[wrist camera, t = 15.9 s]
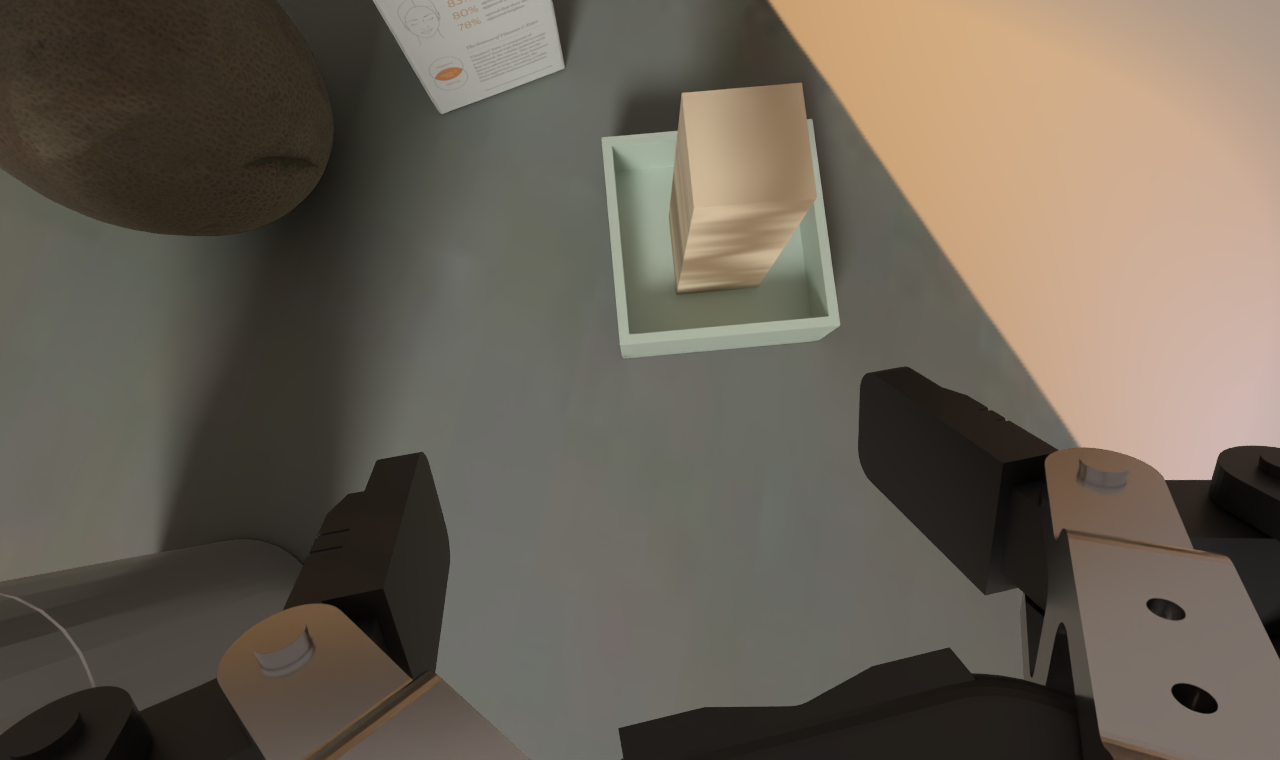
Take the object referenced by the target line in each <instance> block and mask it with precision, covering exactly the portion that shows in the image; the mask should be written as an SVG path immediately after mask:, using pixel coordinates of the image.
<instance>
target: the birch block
mask: <svg viewBox="0 0 1280 760" xmlns="http://www.w3.org/2000/svg"><path fill="white" fill-rule="evenodd" d="M816 198H817V193H816V185H815V178H814V170H813V163H812V155H811V148H810V140H809V133H808V125H807V118H806V110H805V103H804V95H803V88H802V83H791V84H780V85H768V86H757V87H745V88H734V89H722V90H710V91H699V92H687V93H682V96H681V106H680V115H679V124H678V134H677V143H676V153H675V162H674V171H673V181H672V190H671V200H670V209H669V225H670V235H671V245H672V255H673V265H674V275H675V285H676V295H680V294H691V293H703V292H714V291H725V290H736V289H748V288H758V287H759V285H760V284H761V282H762V281H763V279H764V278H765V276H766V274H767V273H768V271H769V270H770V268H771V267H772V265H773V264H774V262H775V261H776V259H777V258H778V256H779V255H780V253H781V252H782V250H783V248H784V247H785V245H786V244H787V242H788V241H789V239H790V238H791V236H792V235H793V233H794V232H795V230H796V229H797V227H798V225H799V224H800V222H801V221H802V219H803V218H804V216H805V215H806V213H807V212H808V210H809V209H810V207H811V206H812V204H813V203H814V201H815V199H816Z"/></svg>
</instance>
